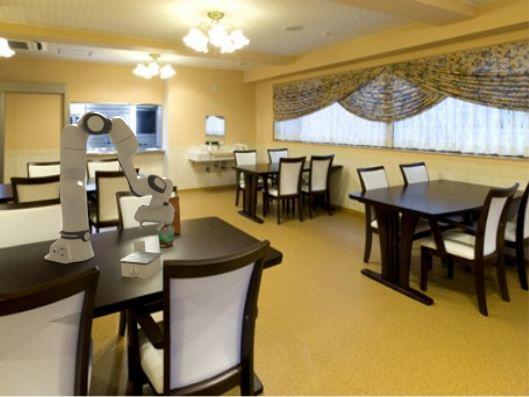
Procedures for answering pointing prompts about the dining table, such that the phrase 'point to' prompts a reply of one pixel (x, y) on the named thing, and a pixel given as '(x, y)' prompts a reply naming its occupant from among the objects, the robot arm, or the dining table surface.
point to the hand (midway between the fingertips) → (149, 229)
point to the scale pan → (140, 257)
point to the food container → (166, 236)
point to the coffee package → (175, 215)
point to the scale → (141, 269)
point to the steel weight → (139, 246)
